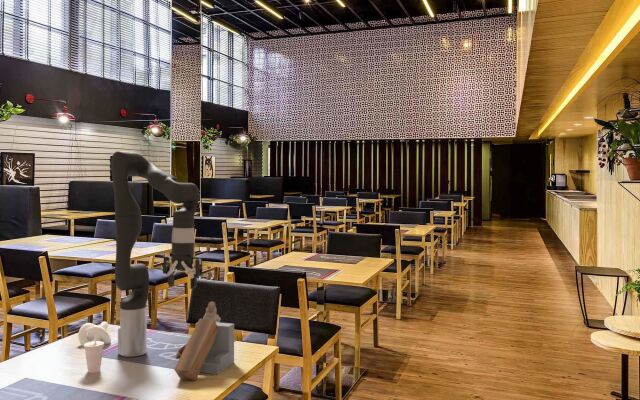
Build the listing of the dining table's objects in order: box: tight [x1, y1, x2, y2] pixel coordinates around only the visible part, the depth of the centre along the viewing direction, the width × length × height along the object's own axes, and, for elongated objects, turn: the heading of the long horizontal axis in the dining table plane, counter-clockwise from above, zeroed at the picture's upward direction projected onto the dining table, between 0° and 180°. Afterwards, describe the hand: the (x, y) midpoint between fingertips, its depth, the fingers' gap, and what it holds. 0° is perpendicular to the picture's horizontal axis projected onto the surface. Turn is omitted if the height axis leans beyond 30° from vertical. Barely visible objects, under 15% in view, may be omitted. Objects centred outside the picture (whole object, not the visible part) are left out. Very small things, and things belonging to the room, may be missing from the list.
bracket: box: [195, 322, 235, 375], centre depth 176 cm, size 13×12×14 cm
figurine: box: [202, 301, 222, 323], centre depth 198 cm, size 9×8×20 cm
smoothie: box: [83, 330, 105, 374], centre depth 170 cm, size 6×6×14 cm
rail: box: [173, 318, 219, 382], centre depth 169 cm, size 6×20×6 cm
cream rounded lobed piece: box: [77, 321, 112, 347], centre depth 199 cm, size 11×12×9 cm
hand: (182, 287), depth 174 cm, fingers open, 8 cm apart
